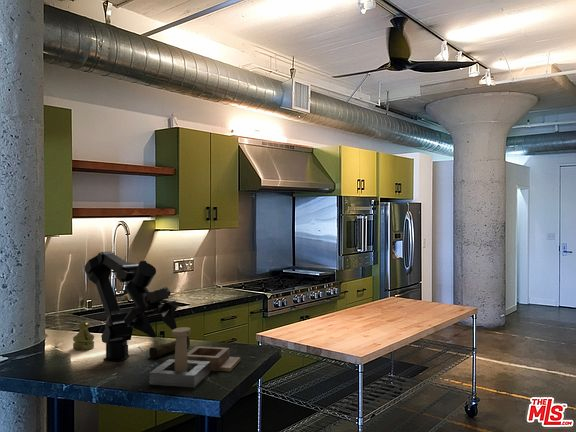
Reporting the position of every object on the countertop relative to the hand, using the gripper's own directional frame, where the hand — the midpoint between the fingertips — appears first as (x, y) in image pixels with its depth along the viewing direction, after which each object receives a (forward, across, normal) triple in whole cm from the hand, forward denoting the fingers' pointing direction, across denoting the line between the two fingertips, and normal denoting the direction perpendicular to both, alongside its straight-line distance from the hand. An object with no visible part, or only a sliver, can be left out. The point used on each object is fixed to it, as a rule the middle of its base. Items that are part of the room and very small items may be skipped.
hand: (165, 333), depth 156 cm
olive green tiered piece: (-25, +7, +43) cm, 50 cm away
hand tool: (-3, +20, +22) cm, 30 cm away
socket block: (+14, 0, +5) cm, 14 cm away
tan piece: (+12, +15, +6) cm, 20 cm away
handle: (+14, 0, +5) cm, 15 cm away
